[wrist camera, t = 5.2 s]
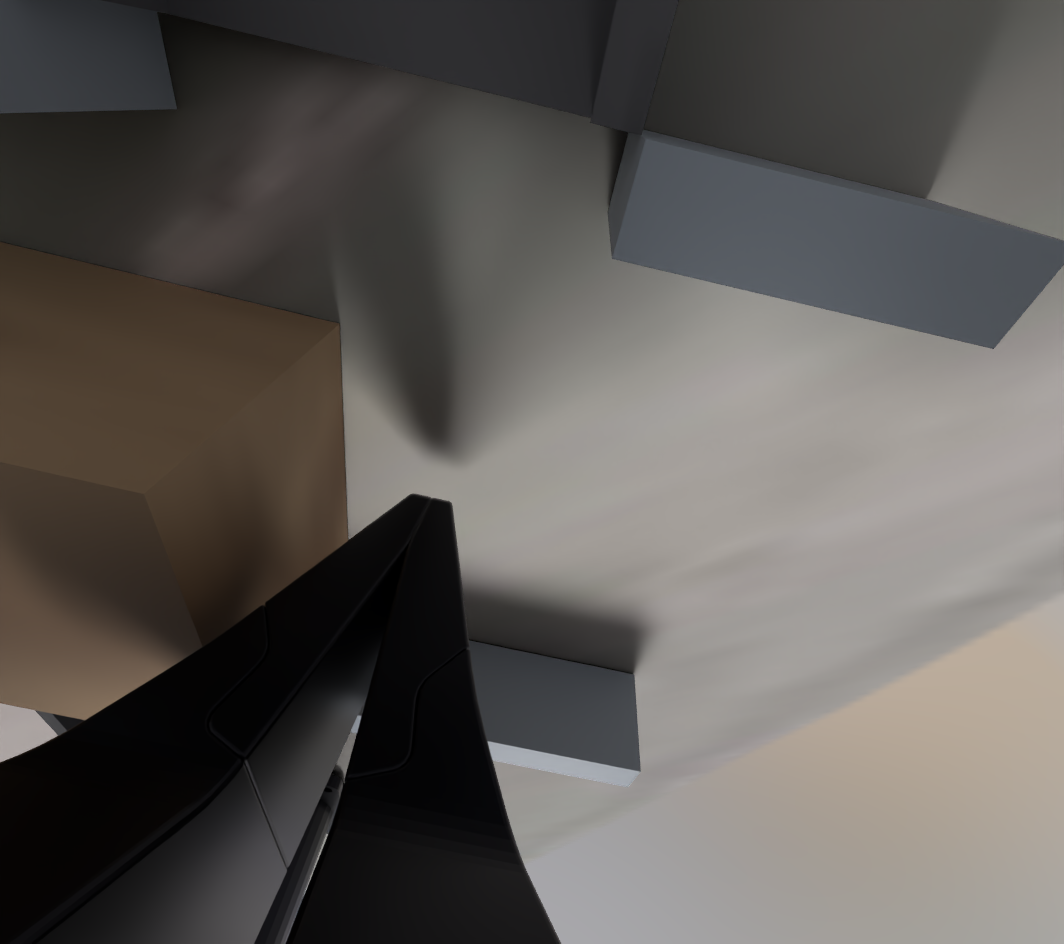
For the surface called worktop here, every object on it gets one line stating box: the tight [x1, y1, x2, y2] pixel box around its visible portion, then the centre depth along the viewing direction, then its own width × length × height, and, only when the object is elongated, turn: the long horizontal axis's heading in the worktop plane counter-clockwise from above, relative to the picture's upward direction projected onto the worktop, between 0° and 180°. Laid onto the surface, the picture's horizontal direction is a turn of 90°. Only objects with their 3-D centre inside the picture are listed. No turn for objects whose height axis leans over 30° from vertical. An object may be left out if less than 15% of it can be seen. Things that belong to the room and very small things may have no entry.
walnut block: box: [0, 242, 348, 720], centre depth 8 cm, size 6×6×4 cm
